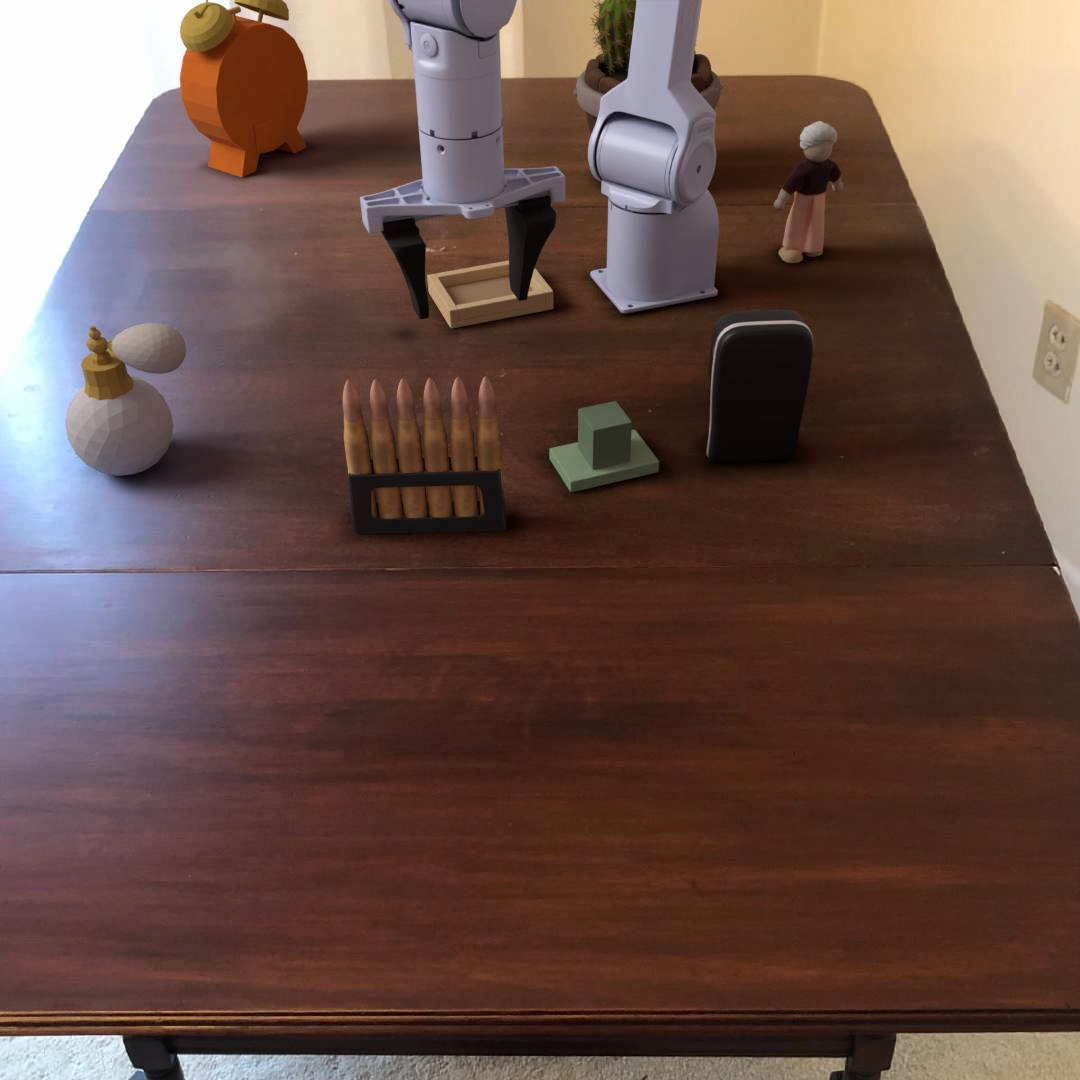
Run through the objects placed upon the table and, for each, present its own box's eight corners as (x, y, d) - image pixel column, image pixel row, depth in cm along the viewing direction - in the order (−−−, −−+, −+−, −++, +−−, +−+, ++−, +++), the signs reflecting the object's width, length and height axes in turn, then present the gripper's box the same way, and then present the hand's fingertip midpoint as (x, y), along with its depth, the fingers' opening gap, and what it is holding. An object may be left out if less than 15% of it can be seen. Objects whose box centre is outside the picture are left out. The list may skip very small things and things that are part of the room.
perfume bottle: (80, 442, 94) (37, 303, 86) (208, 423, 96) (178, 285, 88) (77, 500, 88) (31, 357, 81) (214, 478, 90) (181, 336, 83)
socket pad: (527, 274, 114) (526, 256, 113) (553, 309, 109) (553, 291, 108) (428, 292, 112) (427, 274, 111) (450, 329, 107) (449, 310, 106)
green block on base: (634, 439, 93) (636, 389, 91) (659, 472, 90) (662, 421, 87) (549, 458, 92) (548, 408, 89) (570, 493, 88) (570, 442, 86)
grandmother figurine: (793, 272, 114) (811, 139, 106) (762, 258, 116) (777, 127, 108) (845, 247, 118) (866, 116, 110) (813, 233, 120) (831, 105, 112)
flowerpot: (736, 165, 133) (754, -31, 120) (670, 218, 123) (683, 10, 110) (620, 139, 139) (625, -50, 126) (548, 187, 129) (547, -13, 117)
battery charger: (788, 432, 94) (807, 299, 87) (799, 462, 91) (820, 326, 84) (698, 436, 94) (709, 303, 86) (706, 466, 91) (718, 330, 83)
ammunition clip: (352, 534, 85) (331, 388, 77) (355, 517, 87) (334, 372, 79) (506, 529, 85) (500, 384, 78) (506, 513, 87) (500, 368, 79)
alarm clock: (279, 131, 142) (251, -54, 129) (318, 143, 139) (293, -45, 127) (193, 170, 134) (153, -24, 121) (232, 183, 131) (196, -14, 118)
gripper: (369, 162, 78) (389, 347, 87) (581, 130, 82) (580, 310, 90) (345, 123, 83) (366, 301, 92) (545, 95, 87) (547, 269, 95)
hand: (470, 303), depth 91 cm, fingers open, 7 cm apart
